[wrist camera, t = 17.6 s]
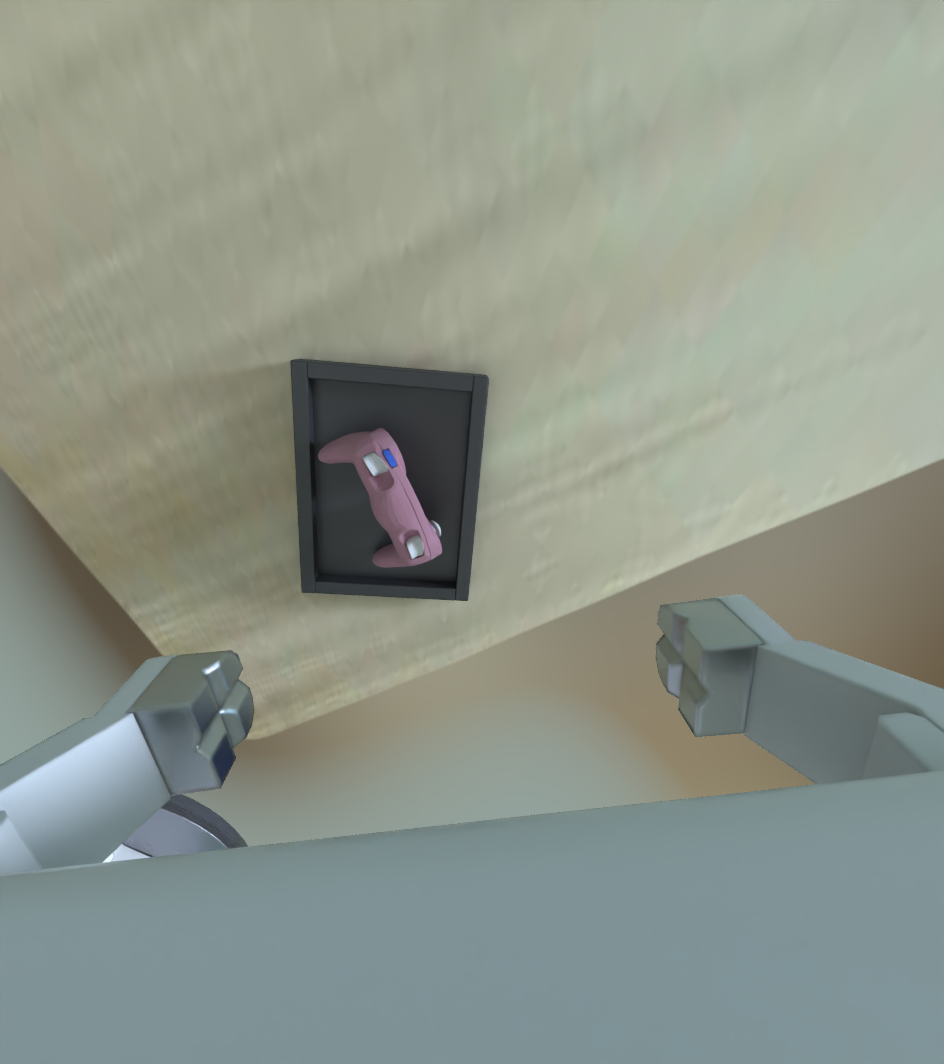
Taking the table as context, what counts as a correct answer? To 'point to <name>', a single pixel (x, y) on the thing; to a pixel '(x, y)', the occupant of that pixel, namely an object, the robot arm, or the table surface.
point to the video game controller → (388, 497)
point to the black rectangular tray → (431, 468)
